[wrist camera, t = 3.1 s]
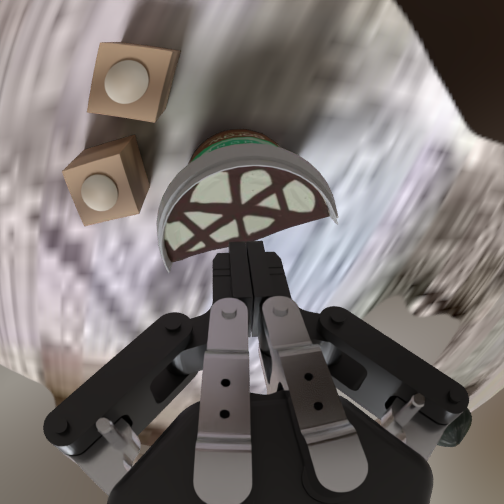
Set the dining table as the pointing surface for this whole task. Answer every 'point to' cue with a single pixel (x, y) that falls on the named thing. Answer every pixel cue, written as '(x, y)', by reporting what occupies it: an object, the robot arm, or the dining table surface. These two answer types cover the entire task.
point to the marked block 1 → (132, 80)
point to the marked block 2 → (108, 181)
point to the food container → (238, 195)
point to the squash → (456, 430)
